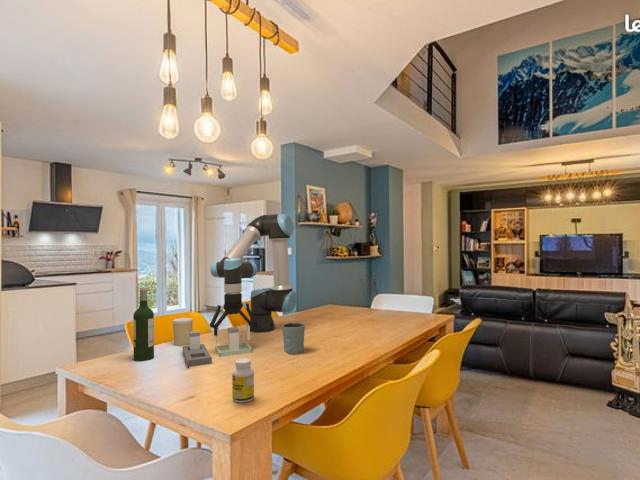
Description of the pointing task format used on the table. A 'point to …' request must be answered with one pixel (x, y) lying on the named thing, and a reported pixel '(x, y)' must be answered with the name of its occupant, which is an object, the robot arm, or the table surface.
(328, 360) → the table surface
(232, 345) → the plug
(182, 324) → the coffee cup
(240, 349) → the tray
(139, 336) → the wine bottle
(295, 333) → the grey-green cup
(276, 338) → the table surface
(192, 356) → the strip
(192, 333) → the twin plug
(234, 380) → the pill bottle
